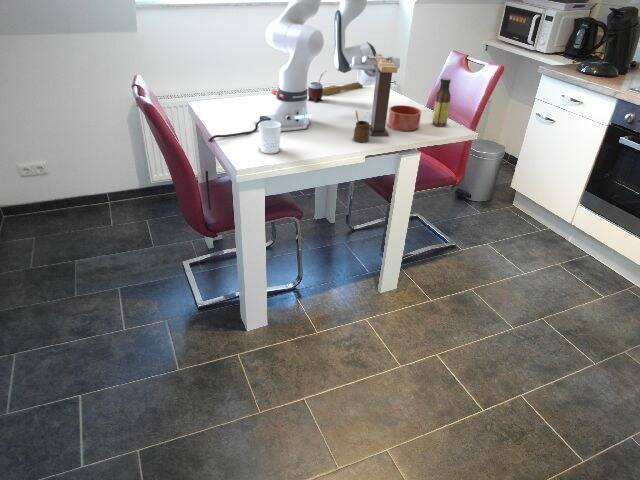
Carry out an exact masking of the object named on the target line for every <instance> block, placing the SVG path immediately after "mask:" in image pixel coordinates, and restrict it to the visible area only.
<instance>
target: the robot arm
mask: <svg viewBox="0 0 640 480" xmlns="http://www.w3.org/2000/svg"><path fill="white" fill-rule="evenodd" d="M321 2H322V0H289V2H288V4H287V6H286V8H285V9H284V11H283V12H282V13H281V14H280V15H279V17H278V18H276V19H275V20H273V21H271V22H270V23H269V24H268V26H267V27H266V30H265V41H266V43H267V44H268V45H269V46H270V47H271V48H273V49H275V50H277V51H280V52H283V53H288V54H289V59H288V62H286V63H284V64H283V65H282V66H281V67H280V69H279V87H278V90H276V89H273V88H272V89H271V94H272V95H274V96H275V98H273V100H272V101H271V102H270V103H269V104H267V105H266V106H265V107H264V108H263V110H262V112H261V113H262V114H261V115H259V119H257V120H256V123H255V128H254V129H253V130H251V131H242V132H236V133H229V134H215V135H213V136H211V137H209V139H208V140H207V142H208V143H210V142H212V141H213V140H214V139H216V138H229V137H238V136H243V135H250V134H253V133H255V132H257V130H259V123H260V122H262V121H268V120H270V121H277V122H279V123H281V132H288V131H298V130H305V129H307V127H308V125H310V119H309V118H312V114H308V107H307V106H308V105H307V103H308V102H307V101H308V86H307V85H308V72H309V68H310V65H311V63H312V61H313V60H314V58H316V57H317V56H318V55H319V54H320V53H321V52H322V50H323V48H324V44H325V43H324V42H325V39H324V35H323V33H322V32H321V30H320V29H317V28H316V27H313V26H311V25H308V24H305V23H306V22H307V21H308V20H309V19H311V18H313V17H315V16H317V13H318V12H319V9H320V6H321ZM367 4H368V0H339V5H338V9H337V10H336V11H335V13H334V25H333V27H334V28H333V29H334V53H333V64H334V66H335V69H336V70H337V71H338V72H340V73H342V74H347V73H349V72H351V71H352V70H353V71H357V75H356V80H357V83H358V82H359V83H360V84H361V85H363V86H371V85H372V84H374V83H375V81H376V72H377V70H376V69H375V67H374V66H373V65H374V64H378V62H377V60H376V59H375V56H376V54H377V51H376V49H375V47H374V46H373V44H372V43H370V42H368V41H363V42H359V43H356V44H354V45H351V46H348V47H346V29H347V28H348V26H349V25H350V24H351V22H352V21H354V20H355V19H357V18H358V17H359V16H361V14H362V13H363V12H364V11H365V9H366V7H367ZM383 57H384V56H383ZM384 58H385V59H386V60H387V61H388V62H389V63H394V64H395V65H396V66H397V67H398V69H399V68H400V67H401V59H400V57H394V56H393V55H388V56H387V57H384ZM205 184H206V185H205V186H206V194H207V205H208V210H210V211H211V210H212V204H211V194H210V193H211V192H210V182H209V170H205Z"/></svg>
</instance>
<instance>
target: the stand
mask: <svg viewBox="0 0 640 480" xmlns="http://www.w3.org/2000/svg"><path fill="white" fill-rule="evenodd" d="M373 66H374V67H375V69H376V70H377V72H376V80H375V81H374V90H373V100H372V110H371V116H370V117H371V118H370V124H369V135H370V136H371V137H388V136H389V132H388V131H387V129H386V123H387V119H388V111H389V102H390V93H391V85H392V77H393V73H389V72H381V71H380V70H379V69H378V64H374V65H373Z"/></svg>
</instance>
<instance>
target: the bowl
mask: <svg viewBox="0 0 640 480" xmlns="http://www.w3.org/2000/svg"><path fill="white" fill-rule="evenodd" d="M421 116H422V110H421V109H419V108H417V107H416V106H415V107H414V106H411V105H403V104H402V105H401V104H400V105H399V104H398V105H397V104H396V105H392V106H390V107H388V114H387V125H388V127H389V128H391V129H393V130H397V131H400V132H413V131H415V130H417V129H419V127H420V122H421Z"/></svg>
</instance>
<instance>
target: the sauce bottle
mask: <svg viewBox="0 0 640 480" xmlns="http://www.w3.org/2000/svg"><path fill="white" fill-rule="evenodd" d="M451 81H452V80H451V78H450V77H441V78H440V85H439V86H440V87H439V89H438V91H437V92H436V94H435V99H434V101H435V102H434V108H433V115H432V125H433V126H436V127H445V126H446V125H447V123H448V119H449V118H448V117H449V111H450V105H451V96H452V95H451V91H450V84H451Z"/></svg>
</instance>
